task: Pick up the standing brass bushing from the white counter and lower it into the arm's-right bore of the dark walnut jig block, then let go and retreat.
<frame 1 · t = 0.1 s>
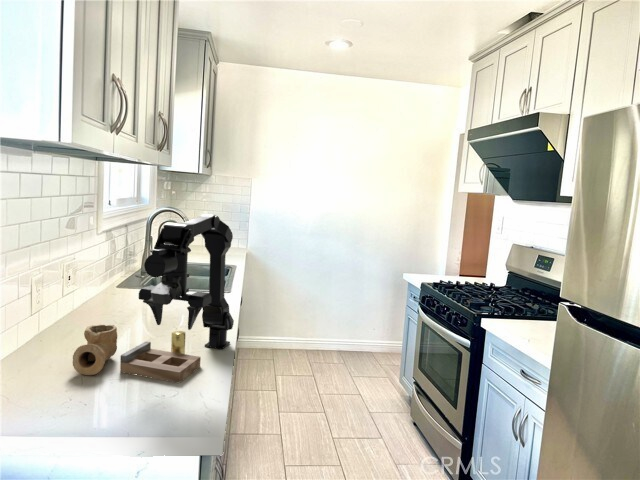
hand: (174, 327, 127), 15 cm above the counter, fingers open, 9 cm apart
jig: (161, 369, 134), on the counter
pipe: (96, 365, 134), on the counter
bushing: (177, 358, 143), on the counter
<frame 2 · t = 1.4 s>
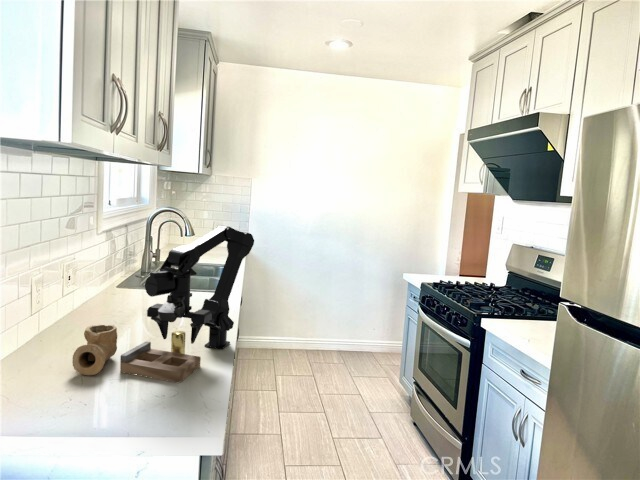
hand: (178, 341, 142), 5 cm above the counter, fingers open, 9 cm apart
nothing on the counter moved.
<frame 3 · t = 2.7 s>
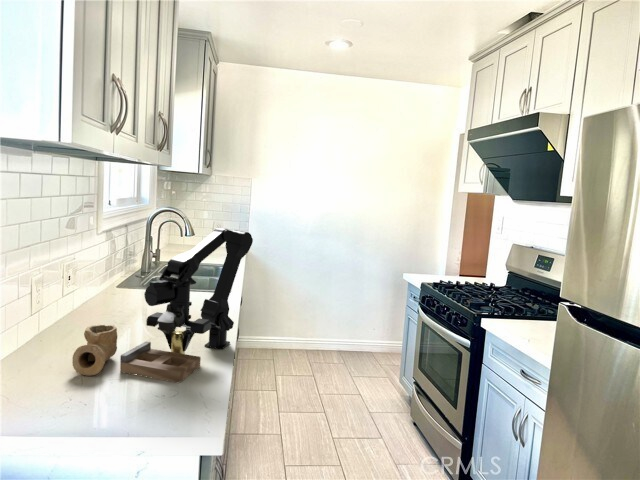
hand: (178, 350, 143), 3 cm above the counter, fingers closed on bushing, 4 cm apart
bushing: (177, 358, 143), on the counter, touching gripper
everything else where it was.
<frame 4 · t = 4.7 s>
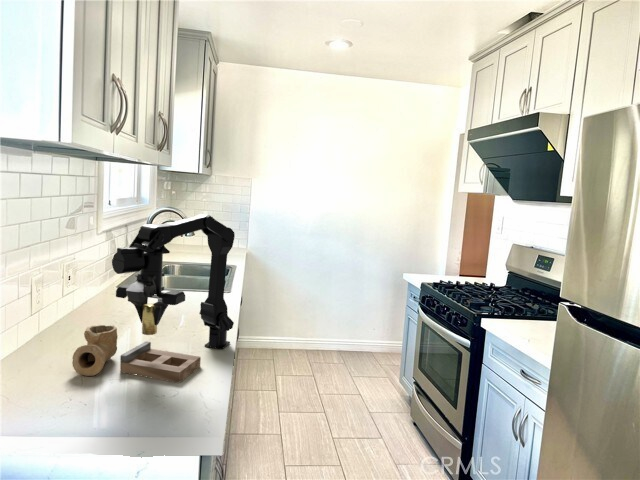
hand: (149, 323, 134), 13 cm above the counter, fingers closed on bushing, 4 cm apart
bushing: (149, 332, 134), point 10 cm above the counter, touching gripper
everything else where it was.
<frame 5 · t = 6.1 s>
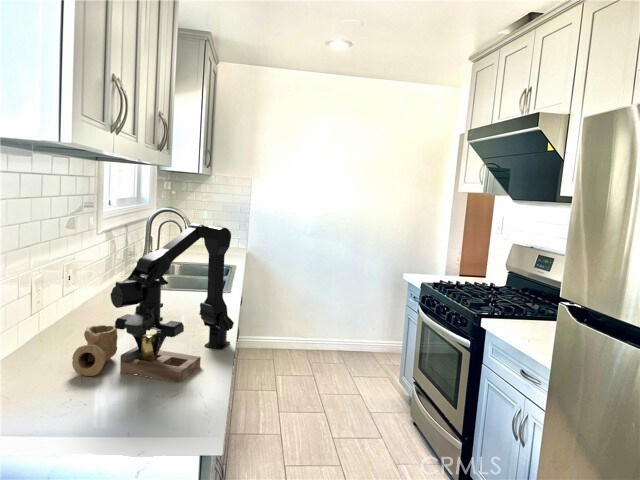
hand: (148, 354, 135), 4 cm above the counter, fingers closed on bushing, 4 cm apart
bushing: (148, 363, 135), point 1 cm above the counter, touching gripper
everything else where it was.
when the fingers open (4 cm above the counter, at t = 6.9 s): bushing drops 1 cm, resting in jig.
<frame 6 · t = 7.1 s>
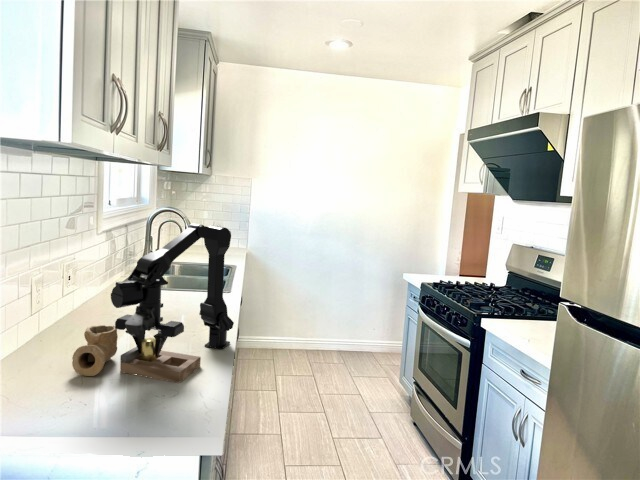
hand: (149, 354, 135), 4 cm above the counter, fingers open, 5 cm apart
bushing: (148, 367, 135), resting in jig
everything else where it was.
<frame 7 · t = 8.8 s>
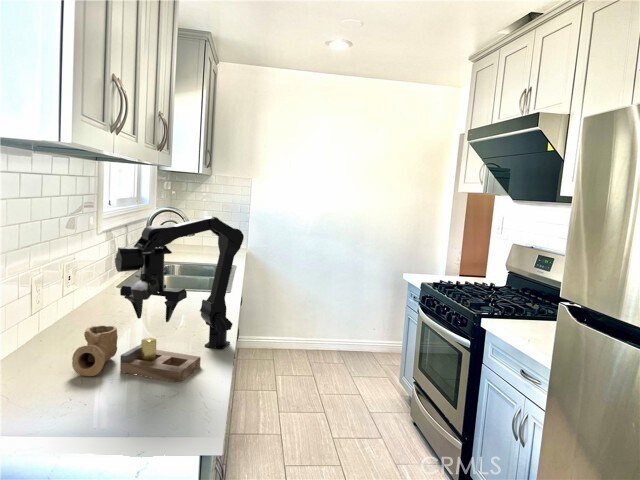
hand: (153, 320, 141), 12 cm above the counter, fingers open, 9 cm apart
nothing on the counter moved.
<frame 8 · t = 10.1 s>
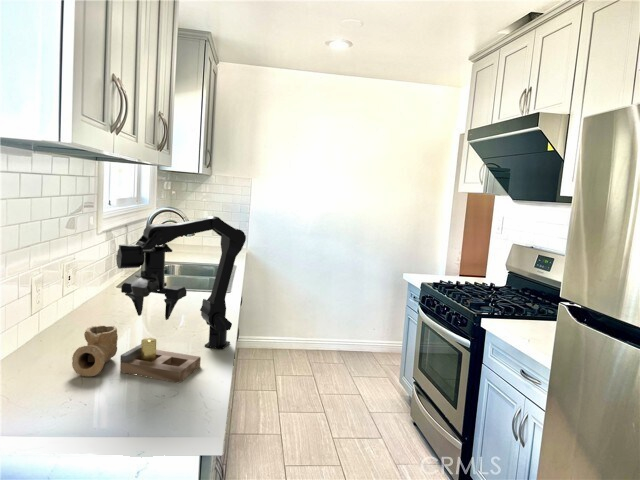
hand: (153, 317, 142), 12 cm above the counter, fingers open, 9 cm apart
nothing on the counter moved.
at the end: bushing 0.0 cm from the target spot on the jig, point 0.0 cm above the jig's base; bushing tilted 0°; the gripper is holding nothing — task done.
